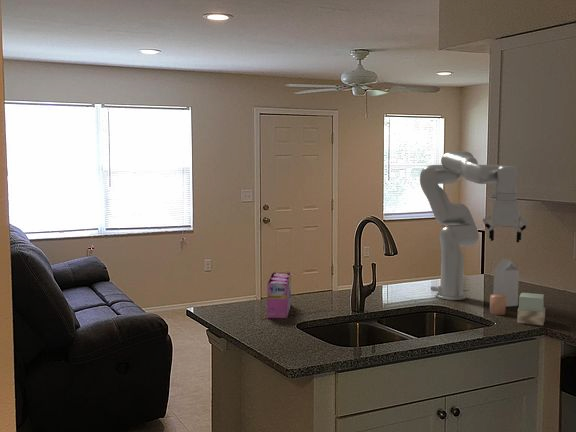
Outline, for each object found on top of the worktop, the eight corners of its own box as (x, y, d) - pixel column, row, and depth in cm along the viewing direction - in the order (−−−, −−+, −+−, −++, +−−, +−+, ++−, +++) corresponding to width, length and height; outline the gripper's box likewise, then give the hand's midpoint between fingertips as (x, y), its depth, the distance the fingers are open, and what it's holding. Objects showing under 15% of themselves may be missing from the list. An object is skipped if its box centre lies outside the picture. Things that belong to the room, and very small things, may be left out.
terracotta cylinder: (488, 313, 258) (489, 296, 257) (490, 310, 263) (491, 293, 263) (504, 315, 255) (505, 297, 255) (506, 312, 261) (507, 294, 260)
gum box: (272, 303, 274) (272, 271, 273) (291, 304, 274) (291, 272, 272) (266, 318, 250) (266, 282, 249) (287, 318, 250) (287, 283, 249)
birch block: (517, 323, 244) (517, 310, 244) (519, 318, 253) (520, 305, 252) (543, 326, 241) (543, 312, 240) (544, 320, 249) (545, 307, 248)
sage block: (518, 309, 245) (519, 296, 244) (520, 305, 252) (521, 292, 251) (541, 312, 241) (542, 298, 241) (543, 307, 248) (543, 294, 248)
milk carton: (502, 307, 269) (504, 261, 267) (492, 303, 276) (494, 258, 274) (517, 306, 271) (519, 260, 269) (507, 302, 278) (509, 258, 276)
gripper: (482, 197, 256) (480, 241, 258) (529, 199, 249) (527, 243, 250) (485, 196, 263) (483, 238, 264) (531, 197, 255) (529, 241, 257)
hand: (504, 241), depth 257 cm, fingers open, 9 cm apart
